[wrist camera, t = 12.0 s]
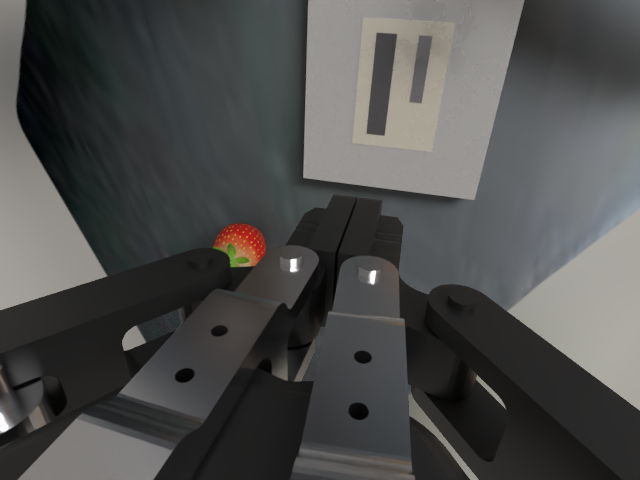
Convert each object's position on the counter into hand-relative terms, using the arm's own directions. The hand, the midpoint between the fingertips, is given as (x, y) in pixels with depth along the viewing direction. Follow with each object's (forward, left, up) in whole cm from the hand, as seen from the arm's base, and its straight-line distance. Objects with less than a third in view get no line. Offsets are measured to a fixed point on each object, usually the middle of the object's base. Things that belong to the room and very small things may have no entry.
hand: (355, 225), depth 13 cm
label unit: (0, 0, -27) cm, 27 cm away
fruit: (+17, -14, -28) cm, 35 cm away
